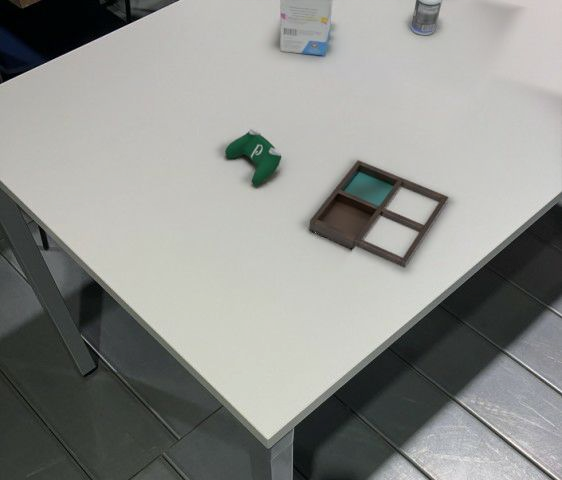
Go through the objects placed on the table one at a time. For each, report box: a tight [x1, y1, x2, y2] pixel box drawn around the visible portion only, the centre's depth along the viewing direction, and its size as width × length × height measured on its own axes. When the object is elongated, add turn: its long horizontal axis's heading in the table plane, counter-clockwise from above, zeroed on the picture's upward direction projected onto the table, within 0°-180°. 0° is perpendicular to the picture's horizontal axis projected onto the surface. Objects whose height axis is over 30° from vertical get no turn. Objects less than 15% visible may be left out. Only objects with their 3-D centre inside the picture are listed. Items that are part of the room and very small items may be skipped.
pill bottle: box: [410, 0, 443, 36], centre depth 116 cm, size 5×5×8 cm
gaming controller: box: [225, 127, 282, 187], centre depth 97 cm, size 9×4×6 cm
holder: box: [308, 160, 450, 268], centre depth 92 cm, size 15×15×2 cm
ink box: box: [279, 0, 334, 57], centre depth 111 cm, size 9×8×13 cm
